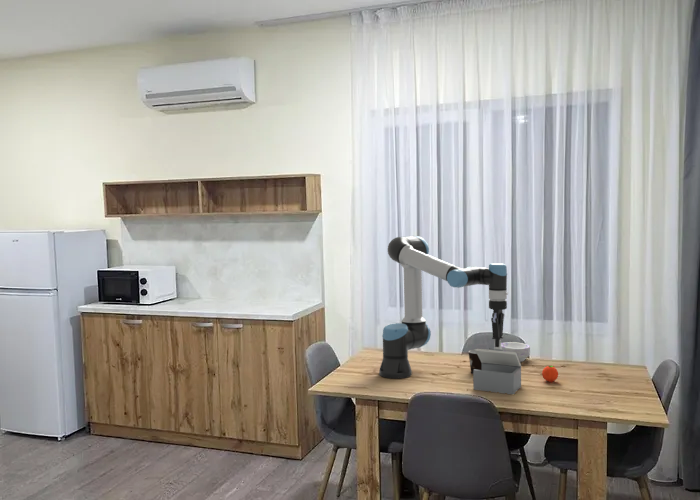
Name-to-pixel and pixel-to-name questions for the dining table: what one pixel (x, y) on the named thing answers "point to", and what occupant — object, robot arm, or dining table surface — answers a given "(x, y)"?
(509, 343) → the paper bowls
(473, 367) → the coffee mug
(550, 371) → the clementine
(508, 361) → the lid
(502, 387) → the grey box
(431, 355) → the dining table surface
